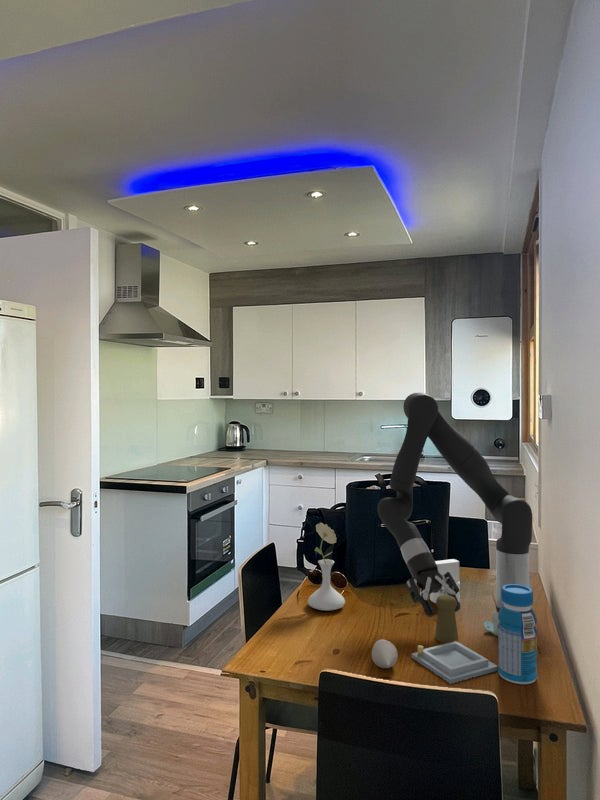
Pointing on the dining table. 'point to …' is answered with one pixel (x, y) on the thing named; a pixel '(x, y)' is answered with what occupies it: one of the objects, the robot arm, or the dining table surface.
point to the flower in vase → (326, 577)
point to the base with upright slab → (443, 568)
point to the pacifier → (493, 624)
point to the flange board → (453, 661)
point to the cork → (446, 619)
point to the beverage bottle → (517, 635)
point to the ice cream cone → (384, 654)
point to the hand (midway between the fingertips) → (445, 612)
